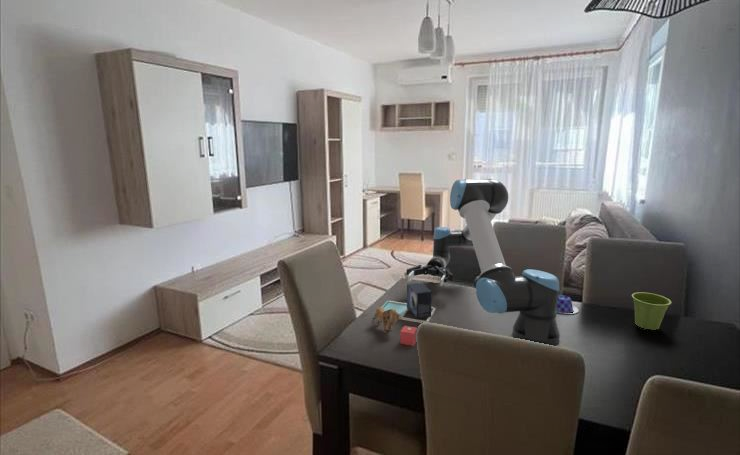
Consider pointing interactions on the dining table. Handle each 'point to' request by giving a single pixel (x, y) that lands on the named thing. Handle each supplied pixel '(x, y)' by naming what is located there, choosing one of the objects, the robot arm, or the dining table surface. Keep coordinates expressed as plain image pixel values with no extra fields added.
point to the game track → (403, 310)
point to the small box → (419, 300)
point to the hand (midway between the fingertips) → (424, 280)
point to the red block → (408, 335)
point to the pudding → (565, 305)
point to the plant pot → (649, 309)
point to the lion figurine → (386, 317)
